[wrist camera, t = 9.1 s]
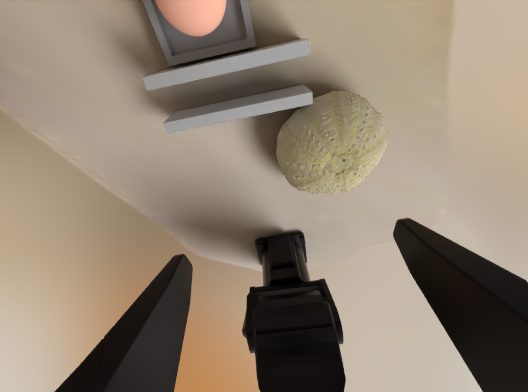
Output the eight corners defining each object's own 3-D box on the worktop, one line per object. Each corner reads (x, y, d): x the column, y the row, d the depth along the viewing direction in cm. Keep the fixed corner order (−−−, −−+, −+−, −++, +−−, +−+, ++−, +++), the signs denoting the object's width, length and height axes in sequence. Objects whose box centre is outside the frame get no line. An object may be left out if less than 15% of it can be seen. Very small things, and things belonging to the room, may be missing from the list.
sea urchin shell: (252, 119, 17) (351, 118, 11) (306, 83, 20) (400, 69, 15) (281, 203, 22) (358, 229, 17) (320, 162, 26) (393, 173, 20)
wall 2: (304, 94, 17) (312, 104, 15) (178, 121, 18) (167, 133, 16) (303, 84, 17) (312, 91, 15) (174, 111, 18) (162, 123, 15)
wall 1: (301, 52, 16) (310, 54, 13) (162, 83, 16) (147, 91, 14) (301, 38, 15) (310, 39, 13) (157, 71, 16) (141, 77, 14)
